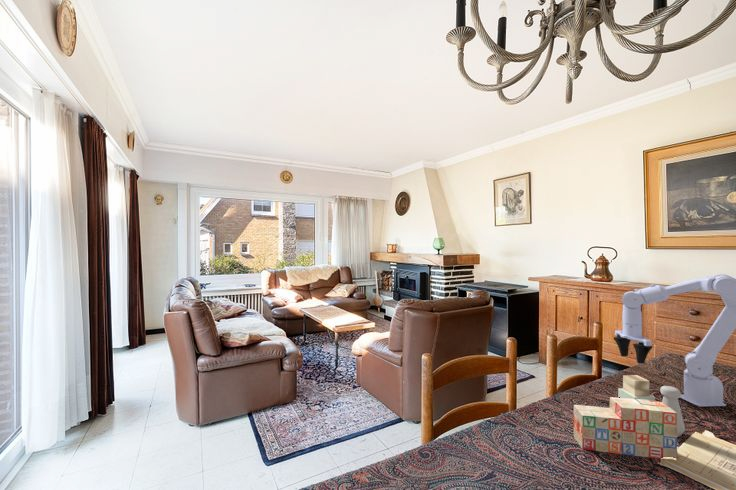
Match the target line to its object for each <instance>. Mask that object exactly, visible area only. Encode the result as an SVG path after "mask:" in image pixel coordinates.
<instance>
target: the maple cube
mask: <svg viewBox="0 0 736 490" xmlns="http://www.w3.org/2000/svg"><path fill="white" fill-rule="evenodd" d="M622 388H623V390H625V391H627V392H628V393H630V394H632V395H634V396H649V394H650V380H648V379H646V378H644V377H642V376H640V375H637V374H627V375H626V374H625V375H622Z"/></svg>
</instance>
